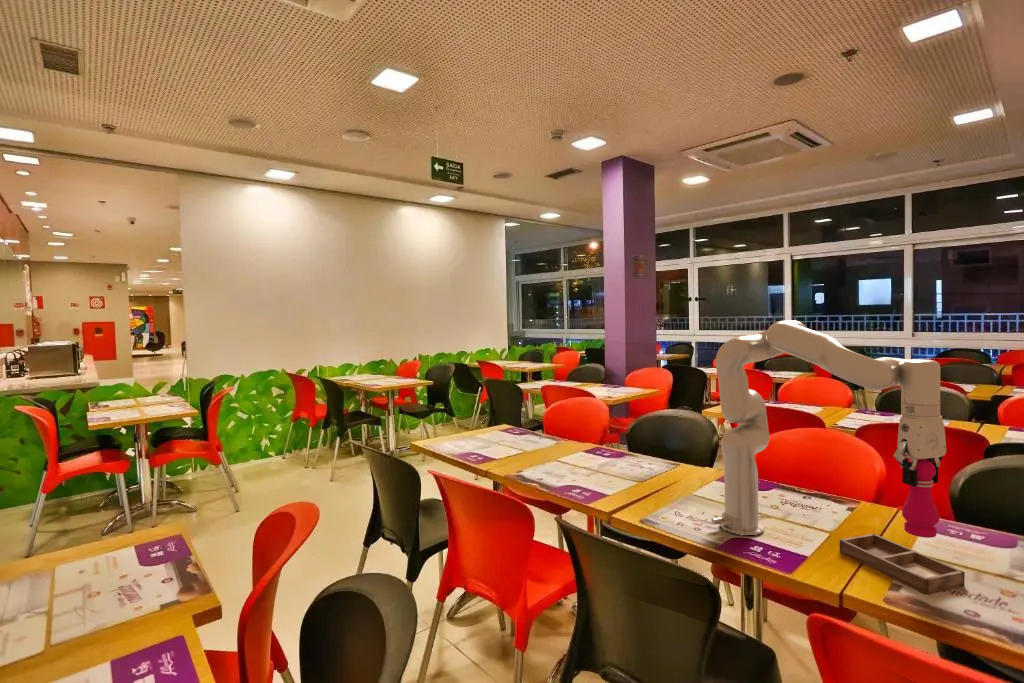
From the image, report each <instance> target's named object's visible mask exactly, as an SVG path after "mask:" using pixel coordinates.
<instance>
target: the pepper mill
mask: <svg viewBox="0 0 1024 683" xmlns="http://www.w3.org/2000/svg"><path fill="white" fill-rule="evenodd" d="M911 460H912V459H908V461H909V462H910V463H911ZM915 470H917V486H911V485H909V492H908V496H907V498H906V500H905V502H904V504H903V506H902V507H901V508H902V510H901V515H902V517H903V519H905V521H904V526H903V528H904V531H905V532H906V533H907V534H909V535H912V536H915V537H920V538H927V539H928V538H929V539H930V538H935V537H937V531H938V530H937V527H936V526H935V525H937V524H939V522H940V515H939V511H938V509H937V506H936V504H935V503H934V501H933V498H932V497H933V496H932V487H933V486H934V483H933V480H932V478H933V477H934V476H935V474H936V468H935V466H934V465H933V463H931V462H930V461H928V460H926V459H921V460H919V459H918V460H917V463H916V467H915Z"/></svg>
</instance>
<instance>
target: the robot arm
mask: <svg viewBox="0 0 1024 683" xmlns="http://www.w3.org/2000/svg"><path fill="white" fill-rule="evenodd" d="M782 354H788V355H789V356H793V357H795V358H798V359H801V360H803V361H805V362H808V363H811V364H813V365H815V366H818V367H819V368H820V369H823V370H824V371H826V372H828V373H830V374H832V375H834V376H835V377H837V378H839V379H842V380H844V381H847V382H849V383H851V384H855V385H857V386H859V387H863V388H866V389H869V390H872V391H873V390H874V391H882V390H885V389H888V388H891V387H896V386H900V388H901V389H900V391H901V393H900V394H901V395H900V396H901V397H900V400H901V402H900V408H901V409H900V418H899V423H898V432H897V433H898V434H897V449H896V451H895V452H894V454H893V458H895V459H896V460H897V463H898V464H899V466H900V468H902V469H901V470H902V471H901V472H902V473H901V474H902V479H901V480H902V483H903V484H905V485H908V486H910V485H911V486H917V470H915V467H916V463H917V460H918V459H919V460H921V459H926V460H928V461H930V462H931V463H933V465H934V466H935V468H936V474H935V476H934V477H933V478H932V480H933V484H938V483H939V467H940V466H941V461H942V460H943V458H944V456H945V455H946V453H947V442H946V441H947V439H946V430H945V423H944V420H943V416H942V415H941V365H940V363H939V362H938V361H936V360H934V359H932V360H931V359H923V358H922V359H915V358H914V359H903V358H896V357H890V356H889V357H888V356H887V357H885V356H883V357H879V358H872V357H869V356H867V355H863V354H860V353H857V352H855V351H852V350H850V349H848V348H846V347H844V346H843V345H841V344H840V343H839V342H838V340H837V339H836V338H835V337H832V336H830V335H827V334H824V333H822V332H819V331H816V330H813V329H810V328H808V327H807V326H806V325H805V324H804V323H802V322H801V321H799V320H793V319H791V320H780V321H776V322H774V323H772V324H771V325H770V326H769V327H768V328H767V330H763V331H762V332H758V333H756V334H748V335H740V336H736V337H732V338H731V339H729V340H727V341H726V342H724V343H723V344H722V345H720V347H719V348H718V351H717V353H716V354H715V355H716V356H715V368H716V373H717V374H716V375H717V380H718V390H719V392H718V393H719V400H720V402H719V403H720V409H721V414H722V416H723V418H724V419H725V420H726V421H727V422H728V423H731V424H737V426H735V427H732V428H731V429H729V430H728V431H726V432H725V433H724V434H723V436H722V438H721V442H720V448H721V453H722V459H723V470H724V471H723V473H724V474H723V476H724V477H723V478H724V511H723V512H721V515H720V516H719V517H712V518H711V520H710V522H711V524H712V525H719V527H720V526H721V527H722V528H723V529H725V530H727V531H730V532H733V533H738V534H743V535H755V536H758V535H757V534H760V533H762V532H763V533H764V532H765V526H764V524H762V523H761V522H760V521H759V479H758V478H759V474H758V473H759V472H758V466H757V462H756V458H755V455H756V454H758V453H760V452H763V451H764V450H765V449H767V447H768V446H769V442H770V432H769V431H770V430H769V422H768V415H767V408H766V403H765V400H764V398H763V397H762V396H761V395H760V393H758V392H757V391H756V390H754V389H751V388H750V387H749V378H748V375H747V372H746V370H745V368H744V367H745V366H746V365H748V364H753V363H758V362H762V361H766V360H768V359H772V358H774V357H778V356H780V355H782ZM910 459H912V460H911V463H910V462H909V460H910ZM721 527H720V528H721ZM722 528H721V529H722ZM723 529H722V530H723ZM725 530H724V531H725ZM727 531H726V532H727ZM763 533H762V534H763ZM760 535H761V534H760Z"/></svg>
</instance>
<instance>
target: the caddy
mask: <svg viewBox="0 0 1024 683" xmlns="http://www.w3.org/2000/svg"><path fill="white" fill-rule="evenodd" d="M839 553H841V554H842V555H845V556H847V557H849V558H851V559H853V560H855V561H857V562H859V563H861V564H863V565H864V566H867V567H869V568H871V569H873V570H875V571H877V572H879V573H881V574H883V575H886V576H887V577H889V578H891V579H893V580H895V581H897V582H899V583H901V584H903V585H905V586H908V587H909V588H911V589H913V590H916V591H918V592H919V593H921V594H923V595H926V596H927V594H928V595H932V594H936V593H941V592H945V591H950V590H953V589H958V587H959V588H963V587H965V580H966V579H965V577H966V576H965V571H964V570H961V569H959V568H956V567H953V566H951V565H949V564H947V563H945V562H943V561H939V560H937V559H935V558H933V557H930V556H928V555H925V554H923V553H921V552H918V551H916V550H913V549H911V548H908V547H906V546H904V545H902V544H900V543H897V542H895V541H892V540H890V539H887V538H885V537H884V536H880V535H878V534H876V533H870V534H864V535H859V536H854V537H846V538H841V539H839ZM962 586H963V587H962ZM940 591H941V592H940Z"/></svg>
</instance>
